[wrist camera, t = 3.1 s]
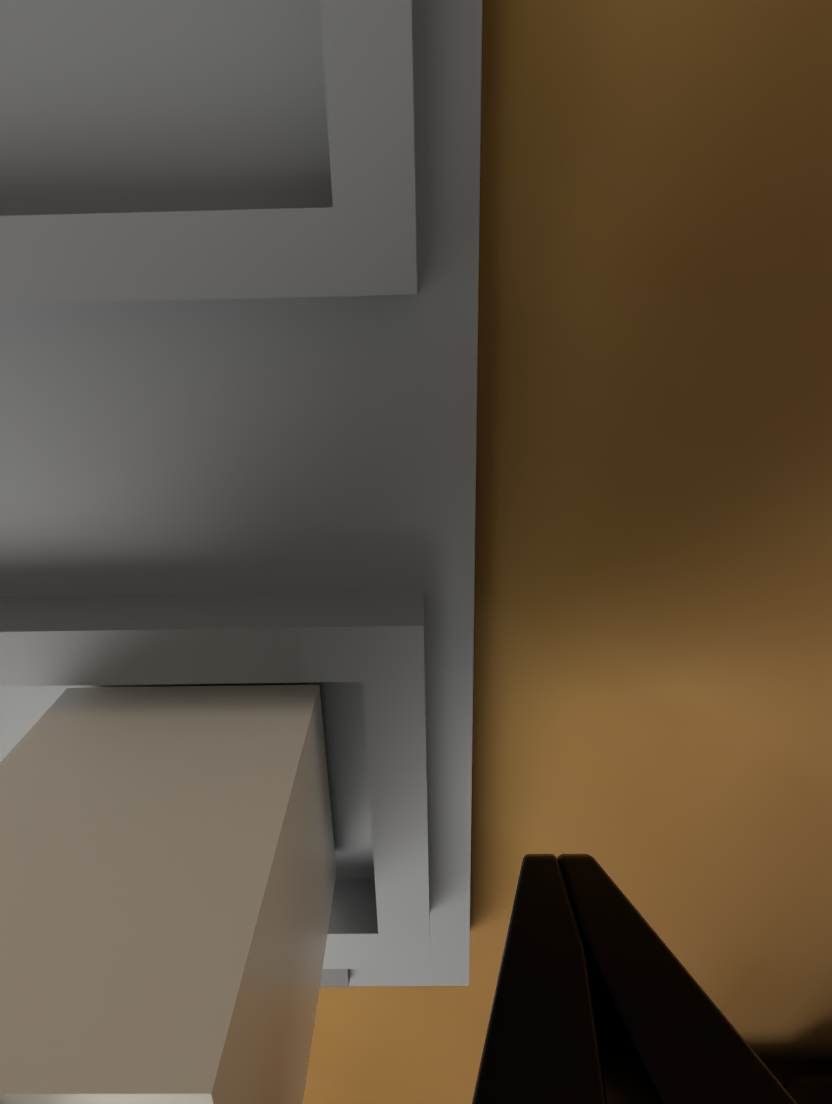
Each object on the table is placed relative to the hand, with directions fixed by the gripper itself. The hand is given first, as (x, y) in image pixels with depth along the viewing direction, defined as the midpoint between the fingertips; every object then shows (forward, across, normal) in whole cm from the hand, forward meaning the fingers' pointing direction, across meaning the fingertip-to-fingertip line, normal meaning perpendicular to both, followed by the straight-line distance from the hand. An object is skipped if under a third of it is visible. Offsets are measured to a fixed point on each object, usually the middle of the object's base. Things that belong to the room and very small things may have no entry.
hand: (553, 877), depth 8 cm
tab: (+2, +5, 0) cm, 5 cm away
